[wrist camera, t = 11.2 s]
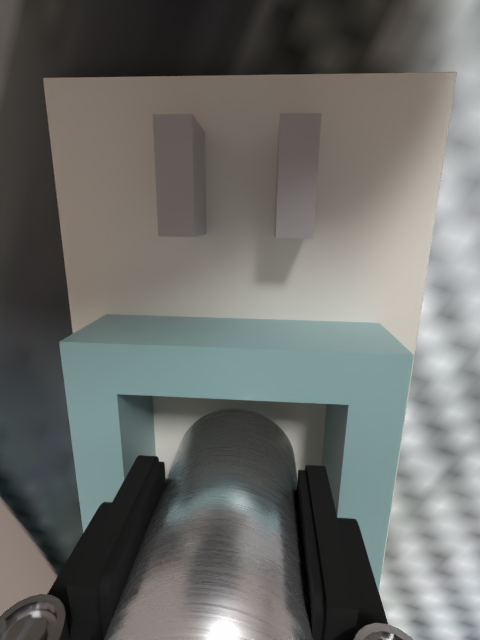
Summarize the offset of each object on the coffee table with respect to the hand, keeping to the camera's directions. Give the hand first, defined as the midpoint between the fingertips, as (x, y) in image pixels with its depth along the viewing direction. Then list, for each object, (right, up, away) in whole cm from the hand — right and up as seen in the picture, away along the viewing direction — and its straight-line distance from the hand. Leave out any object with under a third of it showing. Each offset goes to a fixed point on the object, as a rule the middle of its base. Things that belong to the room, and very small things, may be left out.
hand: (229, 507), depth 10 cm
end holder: (0, +4, +3) cm, 5 cm away
